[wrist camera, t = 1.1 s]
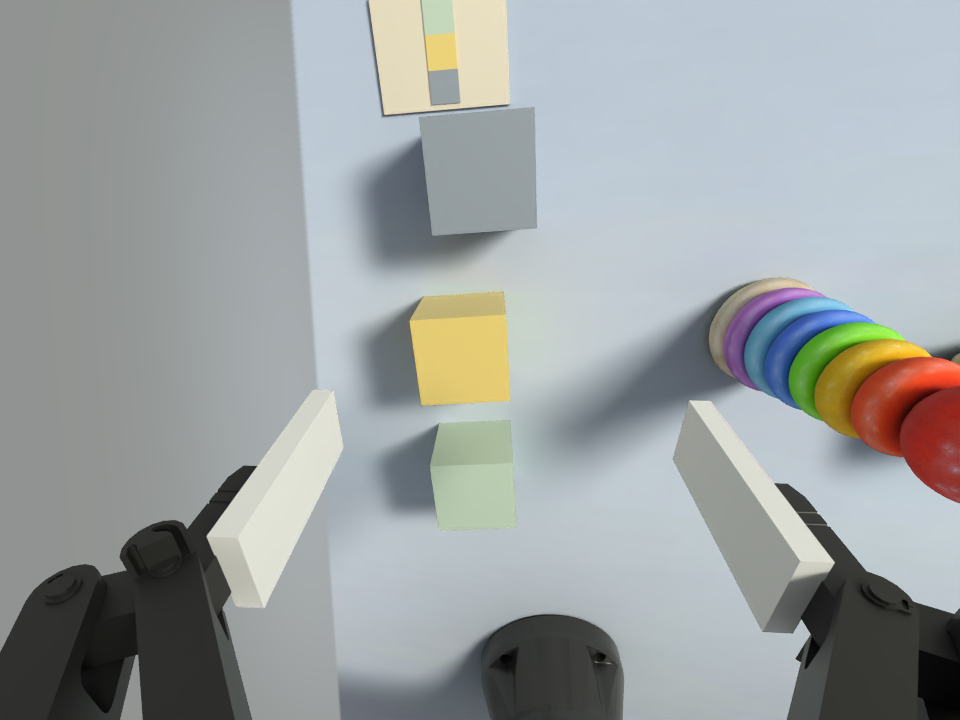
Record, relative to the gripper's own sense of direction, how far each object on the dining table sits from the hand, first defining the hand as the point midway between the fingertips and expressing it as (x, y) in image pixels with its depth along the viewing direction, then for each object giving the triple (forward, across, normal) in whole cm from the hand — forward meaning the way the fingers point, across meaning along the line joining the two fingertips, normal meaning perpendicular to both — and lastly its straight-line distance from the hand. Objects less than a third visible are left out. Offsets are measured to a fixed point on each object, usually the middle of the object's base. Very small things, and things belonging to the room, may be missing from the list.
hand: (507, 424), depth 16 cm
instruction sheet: (+19, +4, -14) cm, 24 cm away
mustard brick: (+17, +3, +4) cm, 18 cm away
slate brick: (+18, +2, -7) cm, 20 cm away
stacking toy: (+18, -19, +3) cm, 26 cm away
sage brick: (+16, +2, +15) cm, 22 cm away
